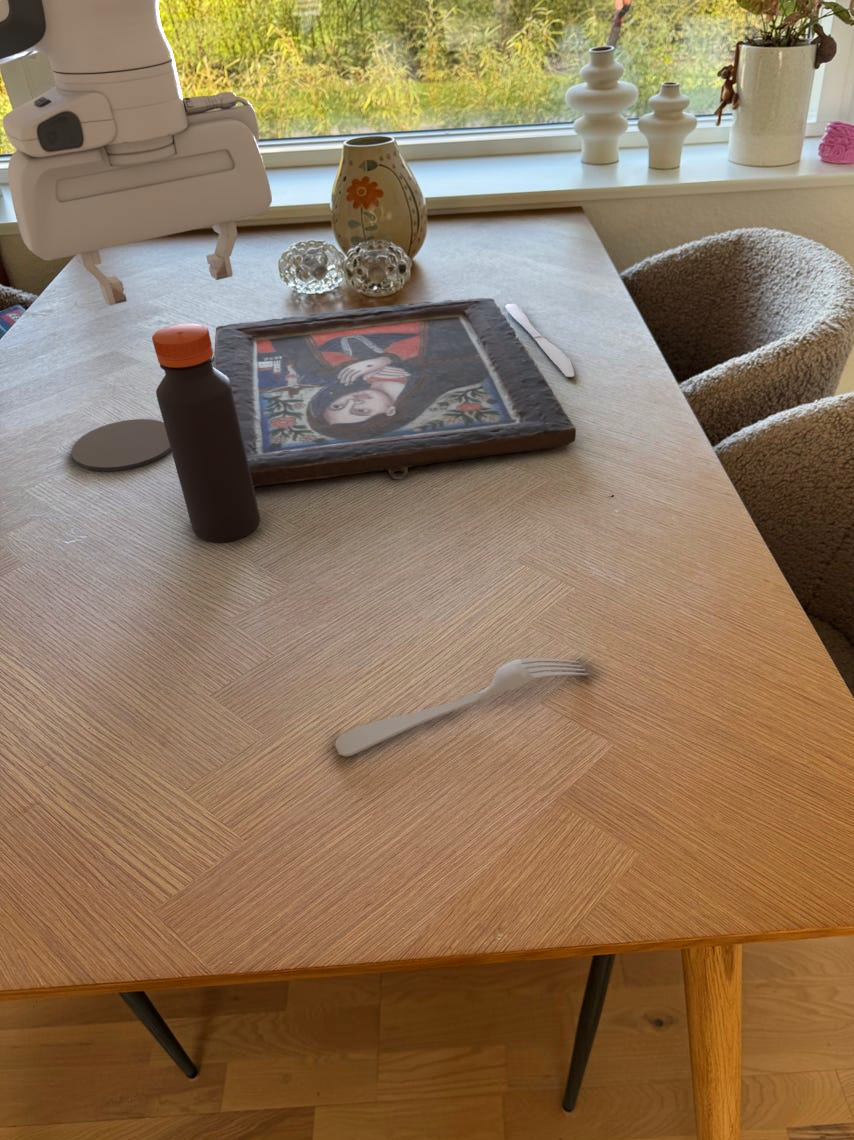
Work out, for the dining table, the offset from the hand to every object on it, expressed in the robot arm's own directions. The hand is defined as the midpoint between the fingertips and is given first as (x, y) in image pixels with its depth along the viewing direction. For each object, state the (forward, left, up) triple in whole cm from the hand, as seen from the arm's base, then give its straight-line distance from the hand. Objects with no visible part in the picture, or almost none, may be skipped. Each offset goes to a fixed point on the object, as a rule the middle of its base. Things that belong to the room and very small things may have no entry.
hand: (170, 289), depth 82 cm
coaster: (-3, +24, -24) cm, 34 cm away
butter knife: (+53, +19, -24) cm, 61 cm away
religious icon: (+27, +18, -24) cm, 40 cm away
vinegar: (0, 0, -24) cm, 24 cm away
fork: (+5, -37, -24) cm, 44 cm away
